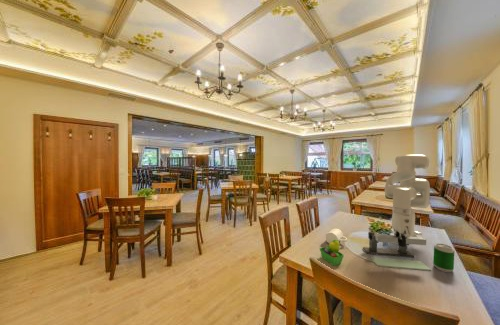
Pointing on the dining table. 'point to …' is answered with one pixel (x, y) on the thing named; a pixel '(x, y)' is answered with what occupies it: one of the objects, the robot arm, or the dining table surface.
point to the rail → (396, 238)
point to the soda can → (443, 257)
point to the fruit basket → (332, 253)
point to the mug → (335, 236)
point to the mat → (400, 263)
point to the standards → (391, 252)
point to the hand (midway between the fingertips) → (399, 244)
